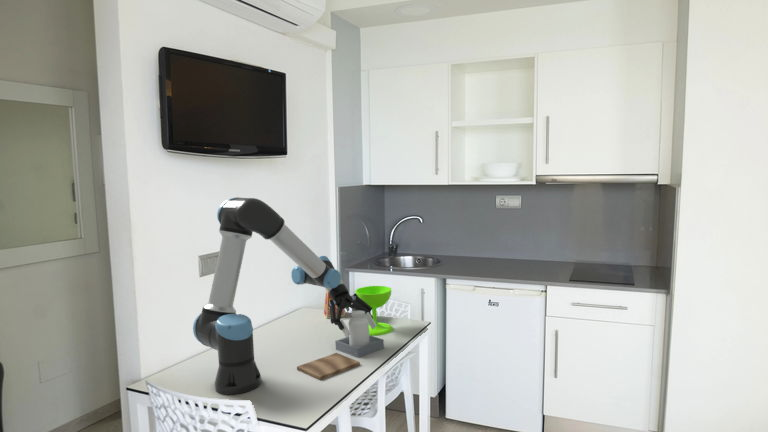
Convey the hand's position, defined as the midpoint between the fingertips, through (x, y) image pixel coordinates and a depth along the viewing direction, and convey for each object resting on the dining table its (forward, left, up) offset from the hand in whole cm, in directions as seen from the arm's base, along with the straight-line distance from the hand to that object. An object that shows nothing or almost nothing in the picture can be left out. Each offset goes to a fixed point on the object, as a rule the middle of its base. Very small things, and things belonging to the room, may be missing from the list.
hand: (361, 331), depth 205 cm
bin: (0, +1, -7) cm, 7 cm away
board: (-20, -5, -7) cm, 22 cm away
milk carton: (+22, +46, -7) cm, 52 cm away
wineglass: (+20, +14, -7) cm, 25 cm away
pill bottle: (0, +1, -7) cm, 8 cm away
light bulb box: (+26, +30, -8) cm, 40 cm away
